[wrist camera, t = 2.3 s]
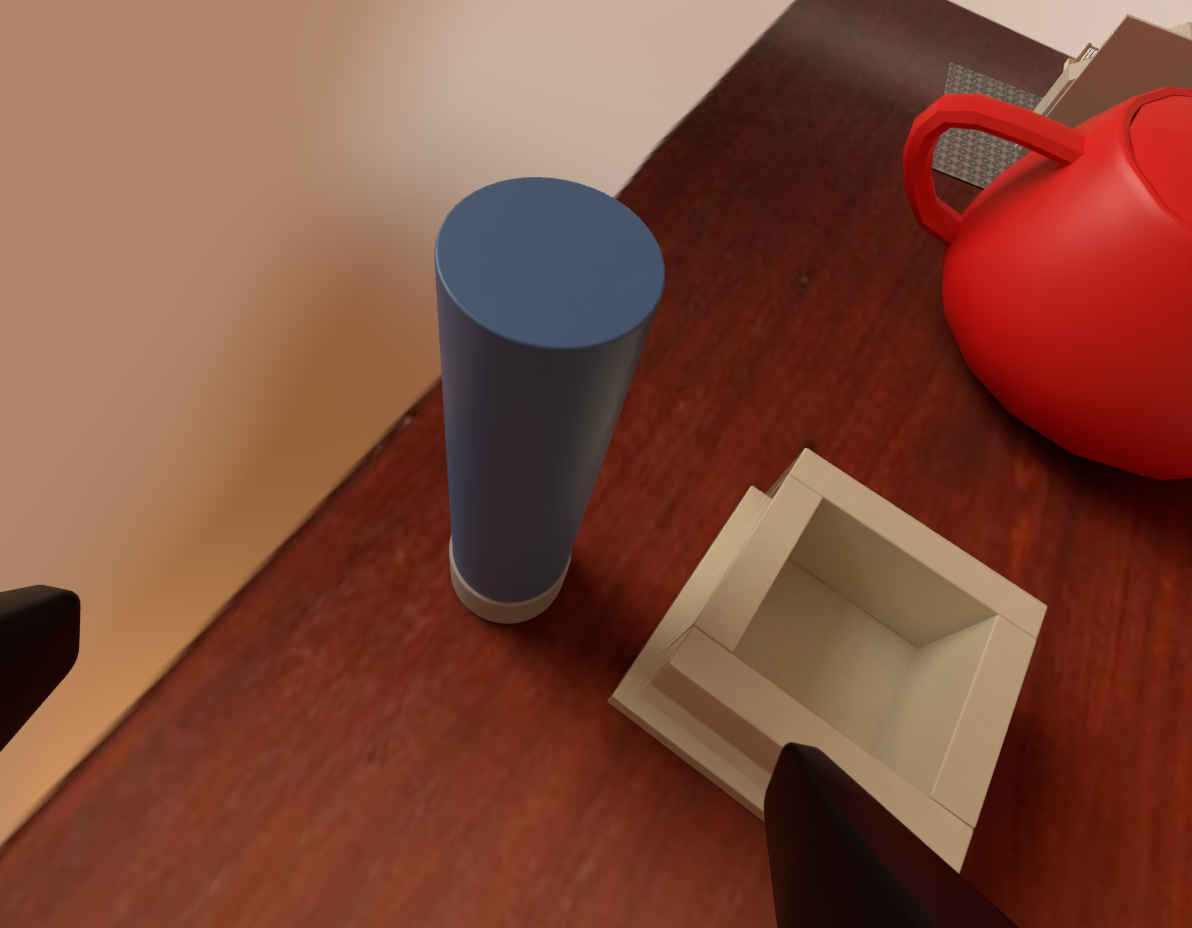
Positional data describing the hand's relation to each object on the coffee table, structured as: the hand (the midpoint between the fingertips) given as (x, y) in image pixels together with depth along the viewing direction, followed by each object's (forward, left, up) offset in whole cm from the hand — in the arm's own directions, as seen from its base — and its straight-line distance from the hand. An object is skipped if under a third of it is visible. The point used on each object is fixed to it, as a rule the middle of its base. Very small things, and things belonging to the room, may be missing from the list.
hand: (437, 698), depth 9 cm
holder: (+9, -7, -12) cm, 17 cm away
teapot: (+30, -12, -13) cm, 34 cm away
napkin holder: (+45, -7, -13) cm, 47 cm away
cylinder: (+6, +3, -12) cm, 14 cm away
